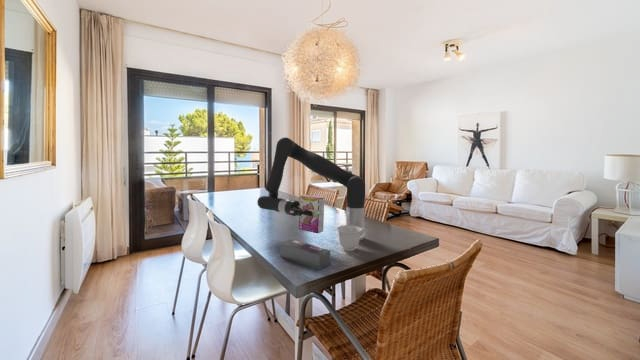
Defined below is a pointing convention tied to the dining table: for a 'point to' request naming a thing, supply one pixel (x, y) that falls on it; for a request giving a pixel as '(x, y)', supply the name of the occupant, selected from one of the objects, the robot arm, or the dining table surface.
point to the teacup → (350, 236)
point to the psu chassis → (305, 254)
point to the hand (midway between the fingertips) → (315, 212)
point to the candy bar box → (317, 208)
